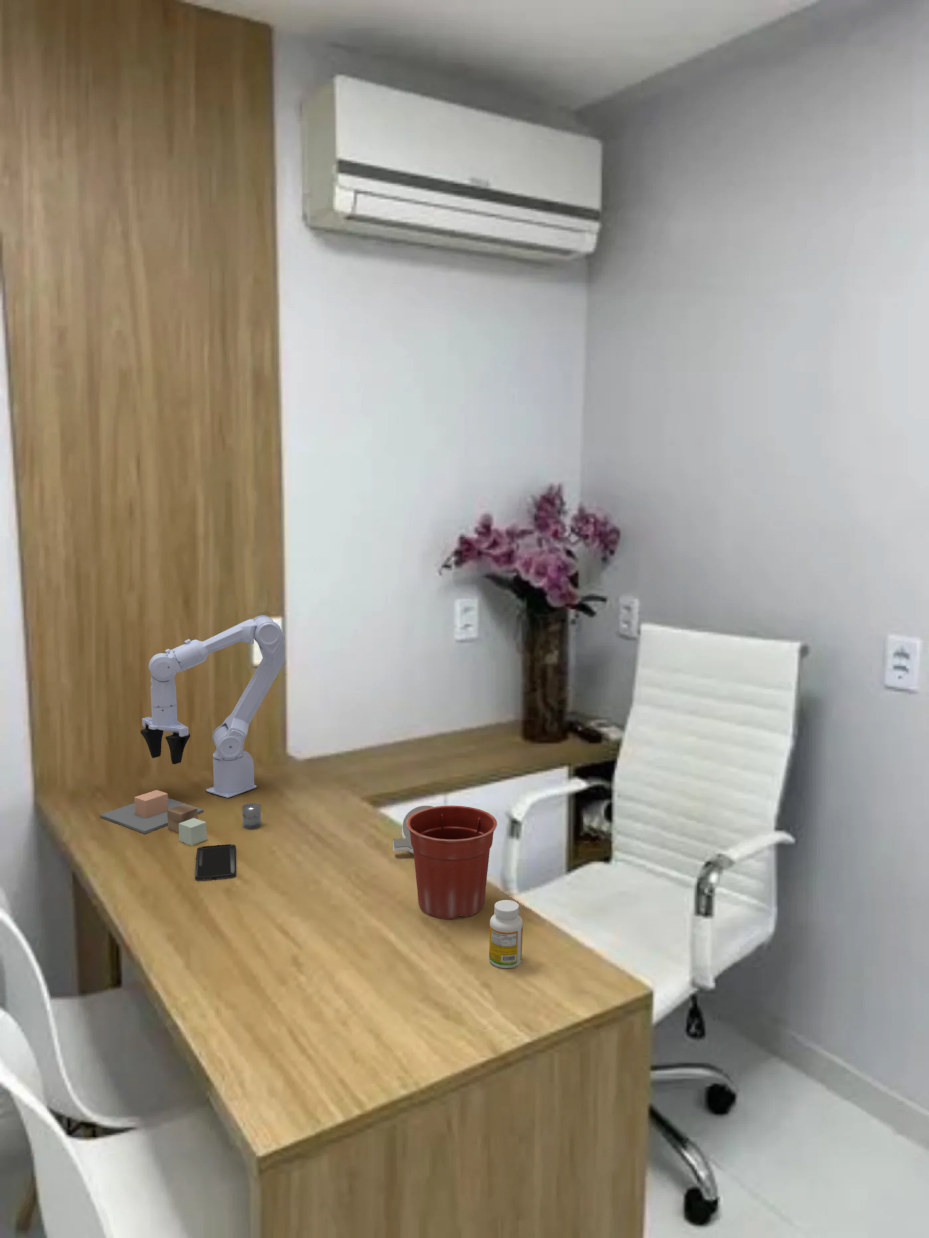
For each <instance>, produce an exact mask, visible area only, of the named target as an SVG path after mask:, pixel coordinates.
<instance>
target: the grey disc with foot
mask: <svg viewBox="0 0 929 1238" xmlns="http://www.w3.org/2000/svg"><path fill="white" fill-rule="evenodd" d="M431 807H434V806H433V805H420V806H417V807H414V808H413V809H411V810H410V811H408V812H407V813H406V815H405V816H404V819H403V822H402V825H401V826H402V827H401V834H402V835H401V836H402V838H393V840H392V851H393V852H397V853H398V852H409V853H411V854H413V855H414V852H413V847H412V845H411V838H410V831H409V830H408V828H407V824H406V822H407V819H408V818H409V817H410V816H411V815H412V814H414V813H415V812H418V811H420V810H423V809H427V808H431Z"/></svg>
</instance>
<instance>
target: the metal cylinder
mask: <svg viewBox="0 0 929 1238" xmlns="http://www.w3.org/2000/svg"><path fill="white" fill-rule="evenodd" d="M241 808H242V809H241V810H242V811H241V812H242V815H241V816H242V828H243V829H246V830H257V829H259V828H261V826H262V807H261V804H260V803H255V802H253V803H246V804H244V805H242V807H241Z"/></svg>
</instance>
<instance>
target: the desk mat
mask: <svg viewBox="0 0 929 1238" xmlns="http://www.w3.org/2000/svg"><path fill="white" fill-rule="evenodd" d="M182 804H185V805H188V806H191V807H195V808H197V813H198V815H199V814H201V813H204V809H203V808H200V807H197V806H194V805H191V804H187V803H185V802H182V801H178V800H176V799H174V798H173V799H172V798H170V797H168V810H169V809H172V808H174V807H177V806H180V805H182ZM99 817H100V819H101V818H102V819H104V820H106V821H109V822H112V823H114V824H118V825H120V826H122V827H125V828H128V829H130V830H133V831H136V832H139V833H142V834H148V833H151V832H154V831H156V830H159V829H161V828H164V827H168V817H167V811H165V812H162V813H159V814H156V815H153V816H151V817H148V818H145V817H142V816H139V815H136V814H135V802H133V803H131V804H128V805H124V806H121V807H118V808H116V809H114V810H111V811H106V812H104V813H101V814H99Z"/></svg>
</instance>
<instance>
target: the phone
mask: <svg viewBox="0 0 929 1238" xmlns="http://www.w3.org/2000/svg"><path fill="white" fill-rule="evenodd" d="M233 877H234V878H235V877H237V846H236V844H233V843H229V844H216V845H203V846H199V847H197V849H196V856H195V869H194V880H195V881H197V882H207V881H215V880H228V879H227V878H230V879H234V878H233Z"/></svg>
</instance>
